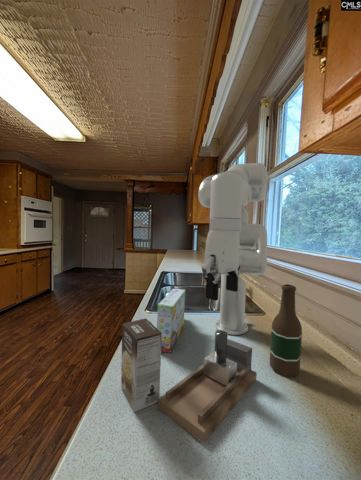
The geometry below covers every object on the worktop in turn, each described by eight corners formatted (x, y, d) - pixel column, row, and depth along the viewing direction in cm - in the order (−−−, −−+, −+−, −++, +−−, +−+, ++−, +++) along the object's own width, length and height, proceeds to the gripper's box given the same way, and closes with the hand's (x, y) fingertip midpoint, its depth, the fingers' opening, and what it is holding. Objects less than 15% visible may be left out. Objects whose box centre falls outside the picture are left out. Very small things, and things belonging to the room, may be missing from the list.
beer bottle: (301, 381, 60) (307, 290, 59) (269, 373, 63) (274, 287, 62) (297, 365, 68) (302, 284, 66) (269, 359, 70) (273, 281, 69)
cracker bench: (216, 361, 68) (217, 335, 68) (256, 379, 60) (257, 350, 60) (157, 408, 50) (158, 372, 50) (203, 442, 42) (204, 400, 42)
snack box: (172, 353, 72) (173, 306, 71) (154, 351, 73) (156, 304, 72) (184, 326, 92) (185, 288, 92) (170, 324, 94) (172, 287, 93)
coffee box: (119, 387, 56) (120, 322, 55) (144, 378, 59) (145, 317, 59) (133, 413, 48) (135, 338, 47) (161, 402, 52) (163, 331, 51)
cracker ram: (212, 366, 61) (213, 326, 61) (236, 378, 57) (238, 334, 56) (203, 373, 58) (205, 331, 58) (228, 386, 54) (230, 340, 53)
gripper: (228, 226, 66) (226, 285, 67) (191, 225, 53) (189, 299, 54) (254, 226, 61) (250, 290, 62) (220, 226, 48) (217, 307, 49)
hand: (222, 294), depth 58 cm, fingers open, 9 cm apart
